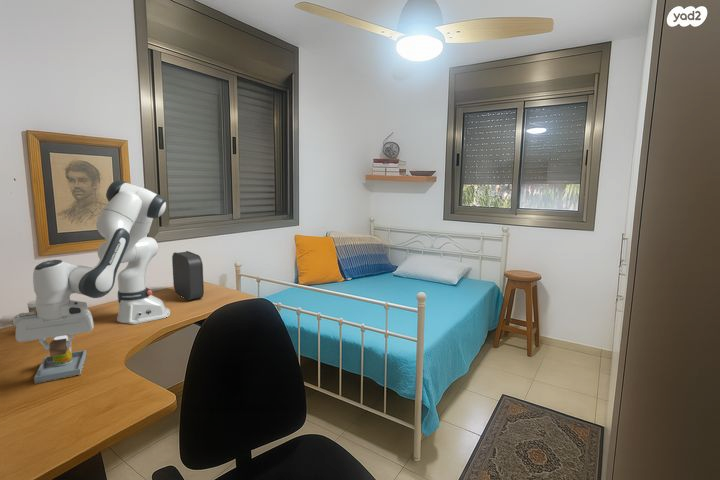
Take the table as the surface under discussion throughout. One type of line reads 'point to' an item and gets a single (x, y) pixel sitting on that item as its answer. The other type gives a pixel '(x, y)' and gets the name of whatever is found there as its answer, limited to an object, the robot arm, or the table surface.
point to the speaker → (188, 275)
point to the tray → (60, 368)
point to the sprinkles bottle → (31, 306)
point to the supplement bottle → (64, 358)
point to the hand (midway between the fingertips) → (58, 348)
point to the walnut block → (57, 347)
